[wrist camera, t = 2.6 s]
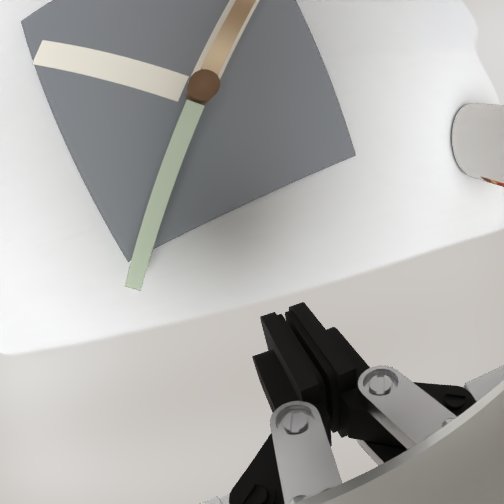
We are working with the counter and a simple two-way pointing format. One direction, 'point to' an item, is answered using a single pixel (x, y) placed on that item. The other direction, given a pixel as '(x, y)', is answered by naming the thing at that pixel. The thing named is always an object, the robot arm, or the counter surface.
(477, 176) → the milk bottle
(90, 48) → the board
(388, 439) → the robot arm
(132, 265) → the fence hinged panel
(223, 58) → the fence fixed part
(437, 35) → the counter surface
